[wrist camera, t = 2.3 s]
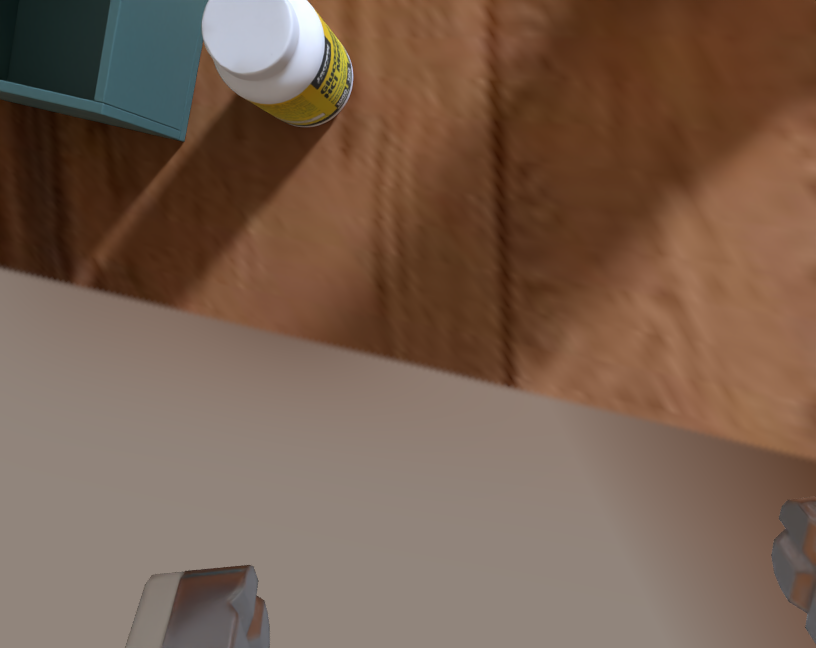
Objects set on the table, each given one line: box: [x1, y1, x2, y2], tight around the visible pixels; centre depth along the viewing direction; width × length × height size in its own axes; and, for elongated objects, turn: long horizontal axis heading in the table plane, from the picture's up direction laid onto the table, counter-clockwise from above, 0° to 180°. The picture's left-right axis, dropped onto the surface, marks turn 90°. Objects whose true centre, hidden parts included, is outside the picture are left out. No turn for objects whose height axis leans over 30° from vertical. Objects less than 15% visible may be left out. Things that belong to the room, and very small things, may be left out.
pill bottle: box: [202, 0, 353, 127], centre depth 40 cm, size 6×6×11 cm
